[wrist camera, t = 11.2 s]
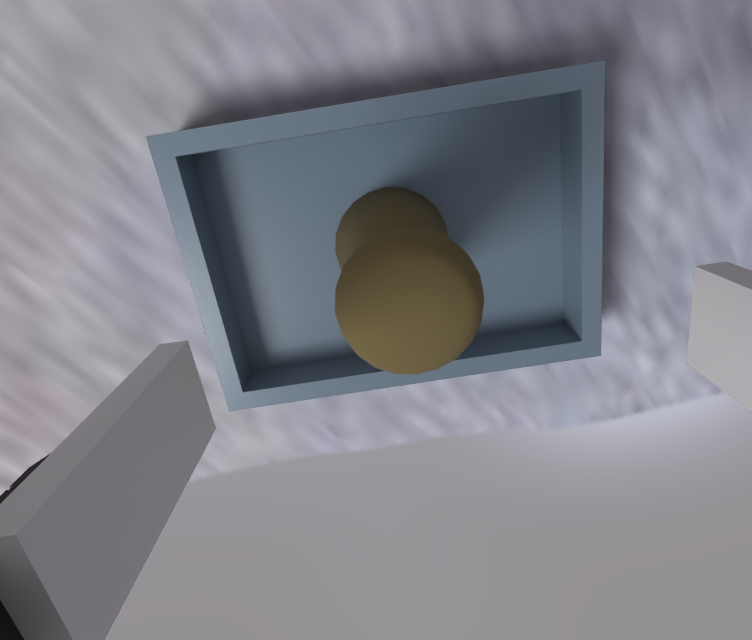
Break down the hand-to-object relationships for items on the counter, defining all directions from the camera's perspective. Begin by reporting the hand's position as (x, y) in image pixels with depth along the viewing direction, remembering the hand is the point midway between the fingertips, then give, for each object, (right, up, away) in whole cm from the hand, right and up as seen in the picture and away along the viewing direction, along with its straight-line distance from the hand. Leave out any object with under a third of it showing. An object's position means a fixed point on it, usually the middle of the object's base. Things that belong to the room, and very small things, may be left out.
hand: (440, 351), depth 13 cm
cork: (-1, +5, +13) cm, 14 cm away
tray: (-1, +5, +14) cm, 15 cm away
